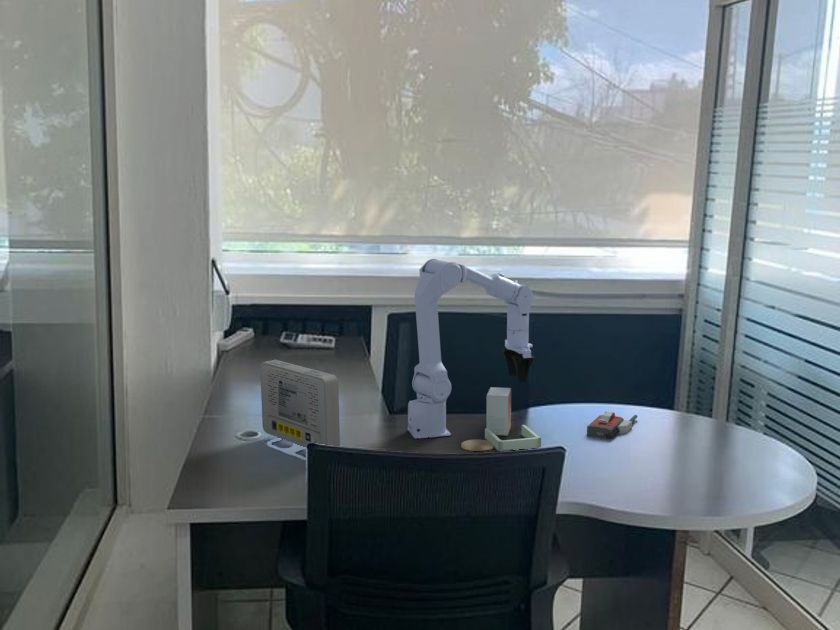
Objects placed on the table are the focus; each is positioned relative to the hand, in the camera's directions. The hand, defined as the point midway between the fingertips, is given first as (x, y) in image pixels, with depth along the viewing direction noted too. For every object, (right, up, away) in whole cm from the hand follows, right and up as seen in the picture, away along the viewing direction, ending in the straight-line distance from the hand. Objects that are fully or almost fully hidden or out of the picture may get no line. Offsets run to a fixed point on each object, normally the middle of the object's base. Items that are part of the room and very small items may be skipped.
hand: (517, 378), depth 233 cm
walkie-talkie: (+24, -13, -9) cm, 28 cm away
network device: (-55, -16, -23) cm, 62 cm away
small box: (-6, -13, -11) cm, 18 cm away
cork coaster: (-12, -15, -22) cm, 30 cm away
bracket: (-4, -14, -20) cm, 25 cm away
